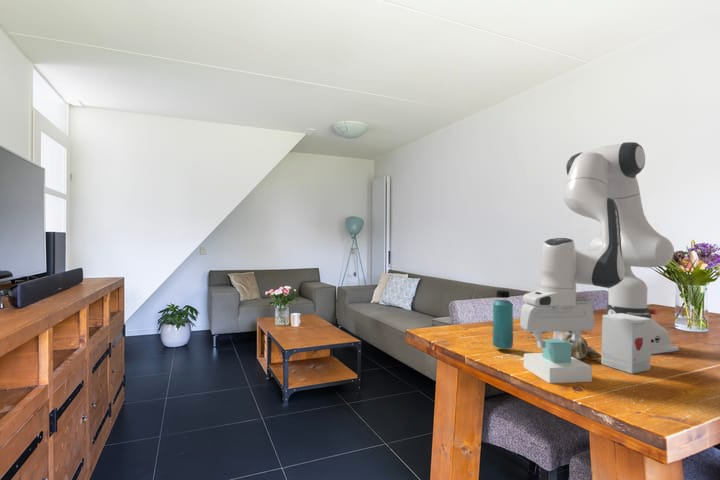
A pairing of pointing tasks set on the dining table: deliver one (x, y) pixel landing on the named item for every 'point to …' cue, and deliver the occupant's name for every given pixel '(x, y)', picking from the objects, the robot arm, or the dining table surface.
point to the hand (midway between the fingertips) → (557, 346)
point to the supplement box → (626, 342)
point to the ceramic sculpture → (581, 347)
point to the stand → (557, 369)
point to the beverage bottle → (502, 321)
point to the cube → (557, 351)
